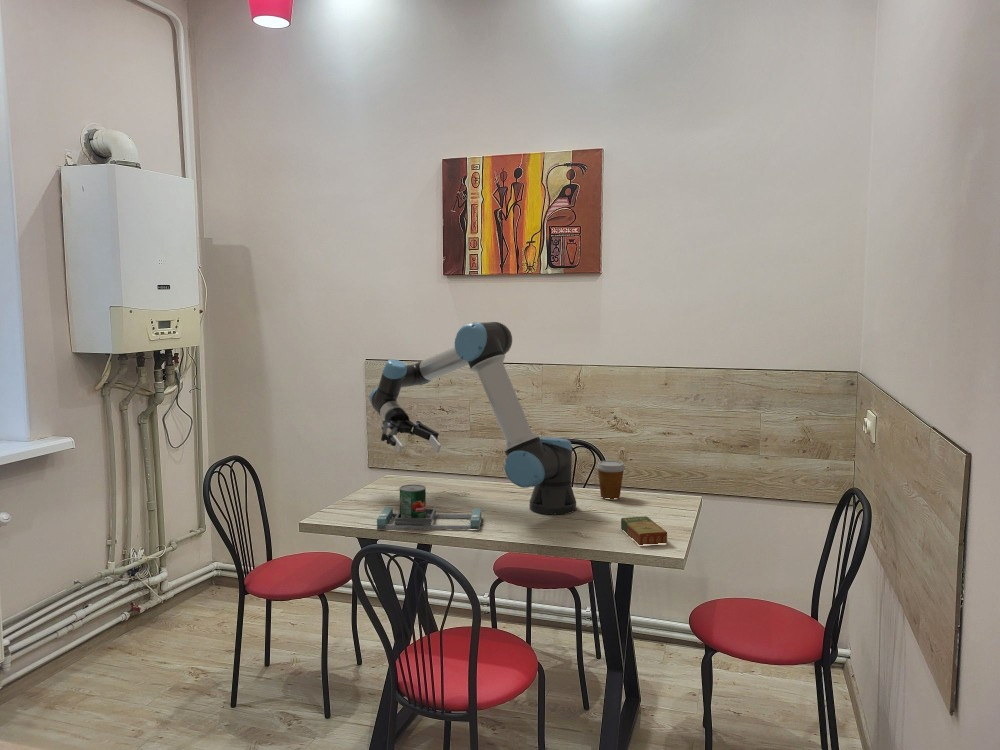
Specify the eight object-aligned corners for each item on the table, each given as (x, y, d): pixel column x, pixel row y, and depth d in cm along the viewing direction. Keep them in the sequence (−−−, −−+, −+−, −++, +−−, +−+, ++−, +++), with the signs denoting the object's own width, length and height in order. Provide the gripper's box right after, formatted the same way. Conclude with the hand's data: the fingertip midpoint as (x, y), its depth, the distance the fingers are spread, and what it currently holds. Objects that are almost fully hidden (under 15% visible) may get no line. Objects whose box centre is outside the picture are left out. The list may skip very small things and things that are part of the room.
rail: (481, 517, 237) (481, 514, 237) (478, 530, 224) (478, 526, 224) (384, 516, 238) (384, 512, 238) (377, 528, 225) (377, 524, 225)
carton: (638, 548, 210) (638, 533, 210) (620, 530, 226) (620, 516, 226) (667, 546, 212) (667, 531, 211) (647, 529, 227) (647, 515, 227)
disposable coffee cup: (626, 501, 256) (626, 466, 255) (597, 501, 256) (598, 466, 255) (622, 494, 266) (622, 460, 264) (594, 494, 266) (595, 460, 265)
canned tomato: (402, 519, 236) (402, 484, 234) (427, 519, 235) (427, 484, 234) (397, 526, 228) (397, 490, 226) (423, 527, 227) (423, 491, 226)
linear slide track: (481, 517, 237) (481, 507, 237) (478, 530, 224) (478, 519, 224) (384, 516, 238) (384, 506, 238) (377, 528, 225) (376, 517, 225)
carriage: (436, 512, 237) (436, 507, 237) (430, 524, 225) (430, 519, 224) (401, 511, 238) (401, 507, 238) (394, 524, 225) (394, 519, 225)
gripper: (424, 426, 267) (451, 458, 251) (358, 426, 254) (381, 460, 238) (430, 407, 265) (457, 438, 249) (362, 406, 251) (386, 439, 235)
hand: (420, 449), depth 243 cm, fingers open, 13 cm apart
